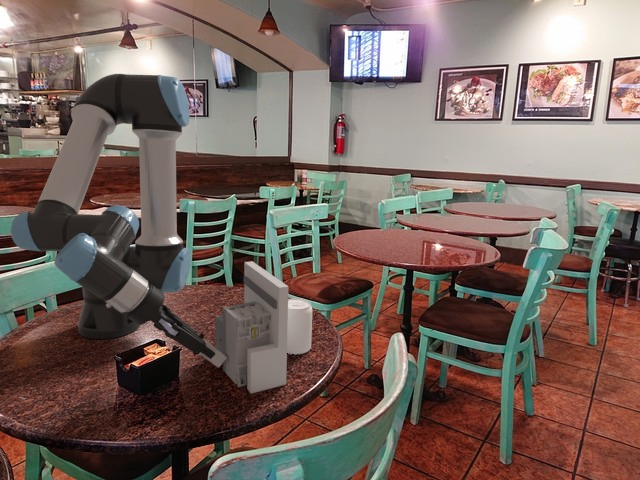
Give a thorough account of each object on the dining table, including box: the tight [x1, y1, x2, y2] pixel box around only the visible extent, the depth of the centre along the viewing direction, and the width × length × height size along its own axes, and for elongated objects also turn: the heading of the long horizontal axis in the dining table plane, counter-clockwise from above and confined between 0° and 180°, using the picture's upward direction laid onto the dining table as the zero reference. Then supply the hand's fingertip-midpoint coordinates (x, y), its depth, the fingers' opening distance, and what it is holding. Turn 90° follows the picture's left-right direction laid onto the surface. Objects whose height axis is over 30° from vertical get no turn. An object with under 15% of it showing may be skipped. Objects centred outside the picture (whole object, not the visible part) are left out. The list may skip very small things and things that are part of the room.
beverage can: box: [287, 297, 313, 356], centre depth 111 cm, size 8×8×12 cm
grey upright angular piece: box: [243, 260, 289, 394], centre depth 100 cm, size 20×8×22 cm, turn 30°
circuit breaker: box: [214, 302, 271, 388], centre depth 101 cm, size 8×14×15 cm, turn 34°
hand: (221, 361), depth 98 cm, fingers closed
